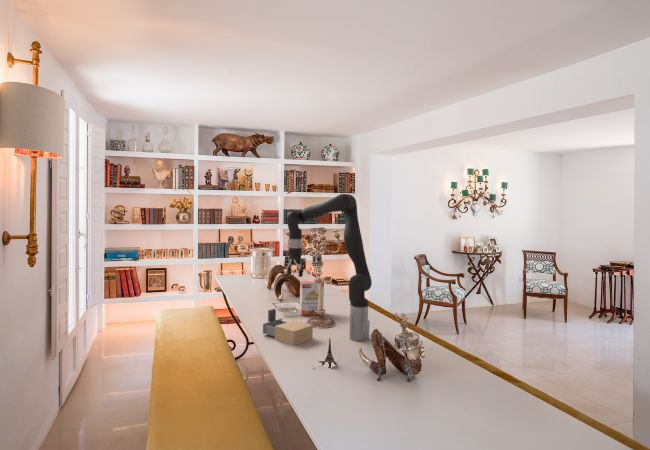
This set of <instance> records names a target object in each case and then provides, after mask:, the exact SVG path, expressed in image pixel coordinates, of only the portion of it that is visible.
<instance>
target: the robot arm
mask: <svg viewBox="0 0 650 450" xmlns="http://www.w3.org/2000/svg"><path fill="white" fill-rule="evenodd" d="M336 212H343V216H344V222H345V225H344V231H343V232H344V233H343V241H344V246H345V251H346V254H347V255H348V257H349V258H350V260H351V262H352V263H353V266H354V270H355V274H354V275H352V276H351V277H350V279H349V281H348V300H349V302H350V305H349V306H350V308H349V309H350V311H349V312H350V313H349V339H350V340H352V341H355V342H364V341H365V342H366V341H367V340H369V339H370V322H371V321H370V320H369V300H368V299H367V298H366V297H365V292H366V291H367V292H368V291H369V290H370V289H371V288H372V283H373V282H372V278H371V277H372V276H371V273H370V270H369V267H368V264H367V259H366V254H365V248H364V244H363V243H364V242H363V238H362V233H361V228H360V224H359V216H358V204H357V200H356V198H355V196H354V195H352V194H348V193H340V194H338V195H337V196H334V197H333V198H330V199H328V200H327V201H324V202H320V203H317V204H314V205H310V206H307V207H305V208H303V209H302V210H291V211H289V213H287V216H286V222H287V223H286V224H287V227H288V232H289V233H288V234H289V235H288V236H289V237H288V252H287V253H288V255H285V256H284V267H285V268H286V269H287V270H286V271H287V272H286V273H287V275H288V276H291V275H292V266H296V268H298V277H299V278H301V277H303V275H304V270H306V269H307V266H306V265H307V263H306V262H307V261H306V260H307V258H305V257H304V258H302V255H303V240H302V239H303V232H302V229H301V228H300V227H299V224H302V223H306V222H307V221H310V220H314V219H317V218H318V219H319V218H321V217H323V216H325V215H327V214H330V213H336Z"/></svg>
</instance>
